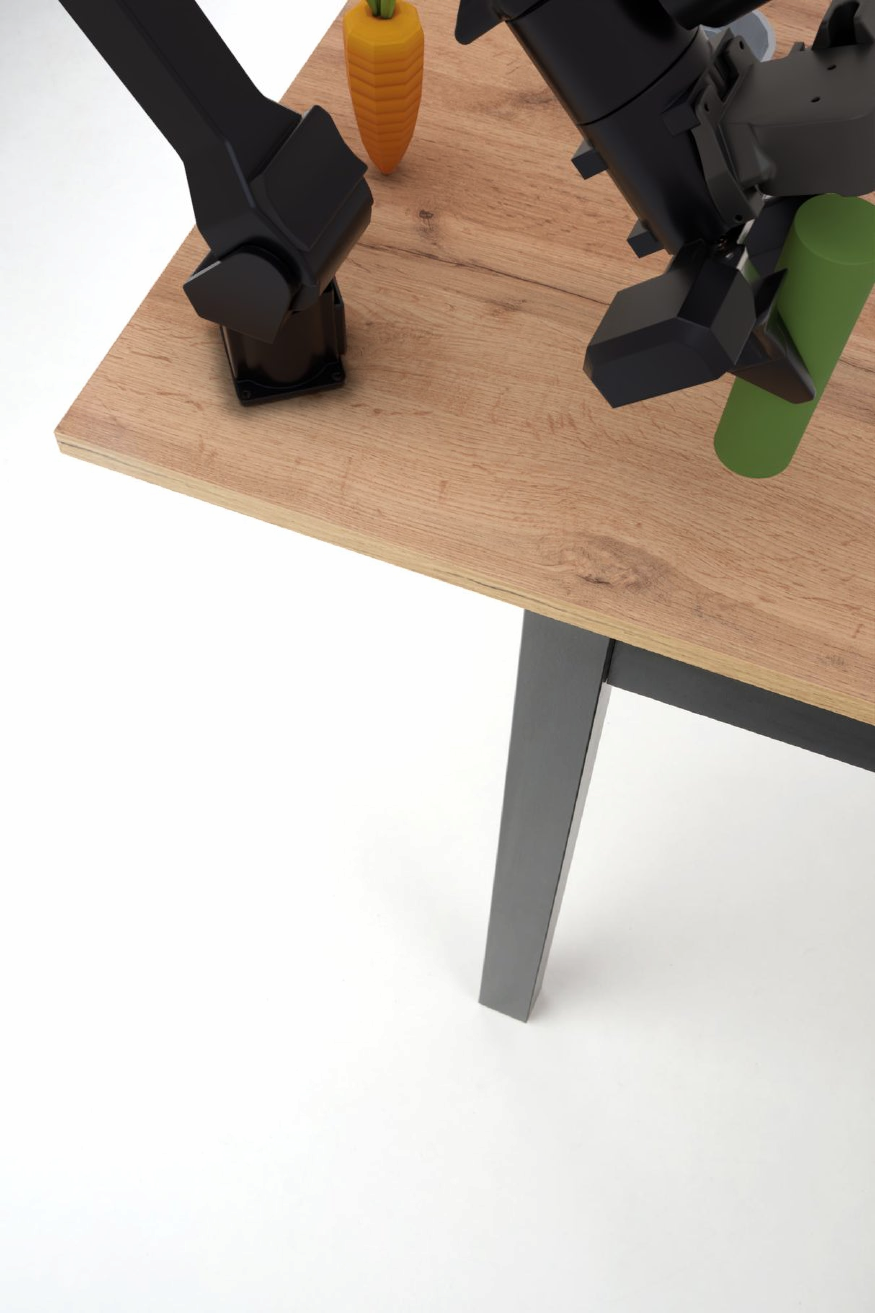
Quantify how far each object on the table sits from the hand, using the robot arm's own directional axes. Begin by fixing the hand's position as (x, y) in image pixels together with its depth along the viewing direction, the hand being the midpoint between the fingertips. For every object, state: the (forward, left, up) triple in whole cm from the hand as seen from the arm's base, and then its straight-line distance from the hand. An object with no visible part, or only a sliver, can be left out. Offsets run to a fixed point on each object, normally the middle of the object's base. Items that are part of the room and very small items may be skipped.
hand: (819, 367), depth 53 cm
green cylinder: (-1, +1, -7) cm, 7 cm away
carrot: (-12, +33, -14) cm, 38 cm away
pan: (+10, +35, -13) cm, 39 cm away
